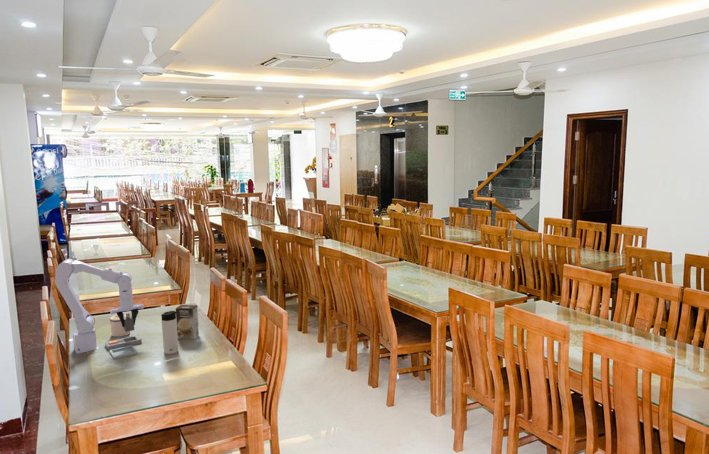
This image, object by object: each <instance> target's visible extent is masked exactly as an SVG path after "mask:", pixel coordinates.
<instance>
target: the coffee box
mask: <svg viewBox="0 0 709 454" xmlns="http://www.w3.org/2000/svg"><path fill="white" fill-rule="evenodd" d="M175 311H176V324H177V338H178V340H195V339H197V338H198V337H199V336H200V331H199V315H198V314H199V311H198V305H196V304H180V305H178V306H177V307H176V308H175Z"/></svg>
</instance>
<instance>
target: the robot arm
mask: <svg viewBox="0 0 709 454" xmlns="http://www.w3.org/2000/svg"><path fill="white" fill-rule="evenodd" d="M81 272H83V273H87V274H90V275H95V276H99V277H100V278H101V280H103V281H106V282H110V283H113V284H117V285H118V295H119V305H120V306H119V307H116V308H113V309H110V315H116V314H117V315H118V317H119V319H120V321H121V323H122V327H125V325H124V313H125V312H130V314H131V316H132V317H133V320H134V326H136V321H137V316H138V315H139V310H143V309H144V304H143V303H140V304H134V296H133V288H132V286H133V285H132V279H133V277H132V275H131V274H130V273H128V272H127V271H126V272H125V271H124V272H123V271H118V270H114V269H113V268H112V267H106V268H104V269H102V268H99V267H97V266H93V265H90V264H88V263H86V262H83V261H81V260H76V259H72V258H66V259H64V260H63V261H61V262H60V263H59V264H58V266H57V267H56V269H55V274H54V275H55V276H54V284H55V286H56V288H57V290H58V291H59V293H60V294H61V296H62V298H63V299H64V301H65V303H66V305H67V306H68V308H69V310H70V312H71V314H72V315H73V317H74V323H75V325H76V330H77V332H76V333H73V335H72V337H73V339H72V340H73V350H74V351H75V354H82V353H86V352H90V351H95V350H99V349H100V348H99V346H98V345H97V344H98V343H97V334H96V328H95V327H94V325H95V324H96V319H95V317H94V316H93V315H91V314H90V313H89V311H88V310H86V309H85V308H84V306H83V304H82V302H81V301H80V299H79V297H78V295H77V294H76V292H75V290H74V288H73V287H72V285H71V283H70V282H69V280H70V278H71V276H72V274H77V273H81Z"/></svg>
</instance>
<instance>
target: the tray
mask: <svg viewBox="0 0 709 454" xmlns="http://www.w3.org/2000/svg"><path fill="white" fill-rule="evenodd" d="M108 352H109V354H110V356H111V357H112V358H113V359H114V360H116V359H120V358H125V357H130V356H133V355H138V354H139V353H138V350H137V349H136V348H135V347H134V345H131V346H126V347H122V348H117V349H113V350H108Z"/></svg>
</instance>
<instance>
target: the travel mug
mask: <svg viewBox="0 0 709 454" xmlns="http://www.w3.org/2000/svg"><path fill="white" fill-rule="evenodd" d="M161 329H162V332H161V333H162V342H163V354H164V355H167V356H171V355H175V354H179V343H178V341H179V339H178V338H177V322H176V310H170V311H166V312H163V313H162V314H161Z"/></svg>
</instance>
